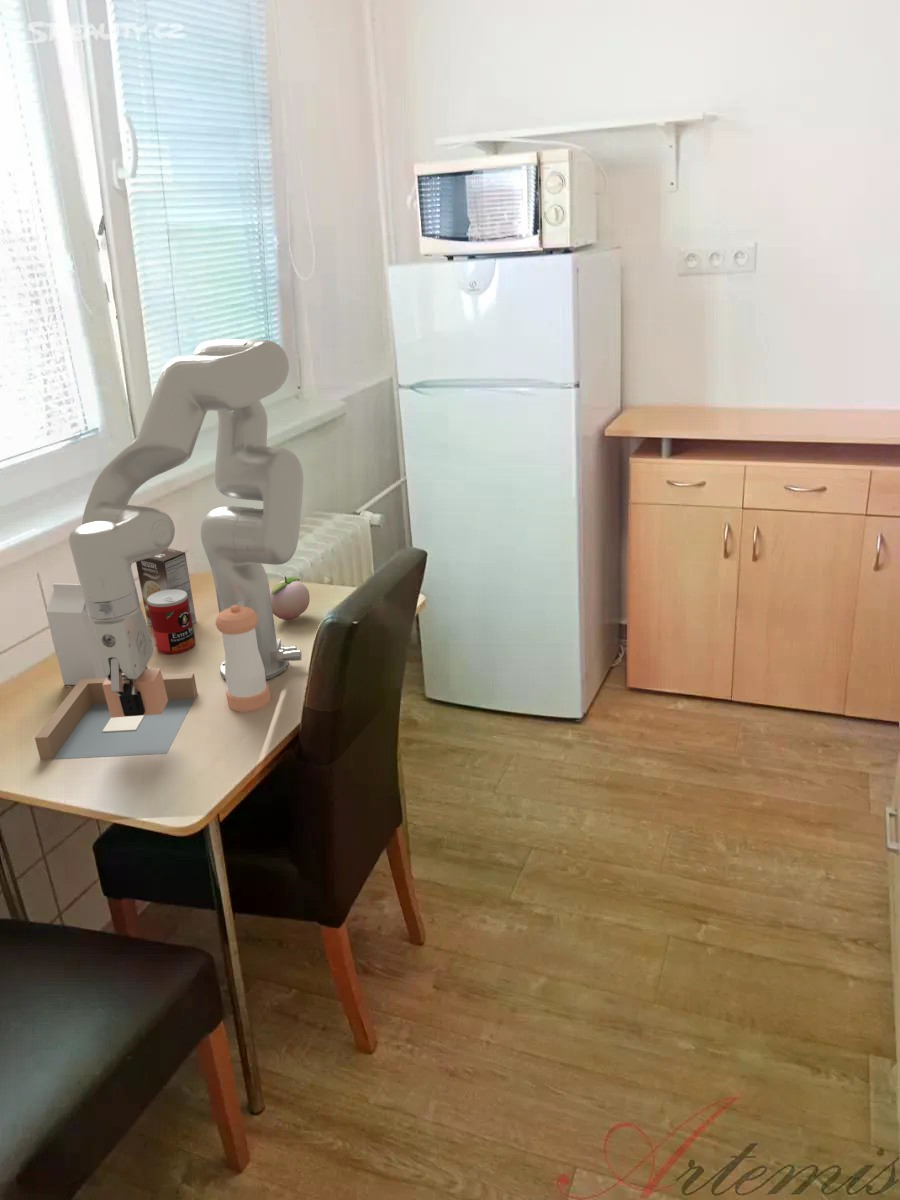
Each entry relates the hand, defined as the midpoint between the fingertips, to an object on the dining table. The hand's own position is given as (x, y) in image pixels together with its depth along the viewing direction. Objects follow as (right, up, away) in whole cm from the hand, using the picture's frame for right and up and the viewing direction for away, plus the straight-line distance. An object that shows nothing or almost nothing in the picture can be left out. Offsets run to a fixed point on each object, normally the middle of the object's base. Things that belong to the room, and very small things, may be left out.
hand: (139, 705), depth 146 cm
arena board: (-5, -5, +8) cm, 11 cm away
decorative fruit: (+16, +12, +48) cm, 52 cm away
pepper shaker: (+15, -2, +14) cm, 20 cm away
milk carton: (-18, +2, +28) cm, 34 cm away
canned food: (-6, +7, +39) cm, 40 cm away
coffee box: (-10, +12, +50) cm, 52 cm away
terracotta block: (0, -1, 0) cm, 1 cm away
